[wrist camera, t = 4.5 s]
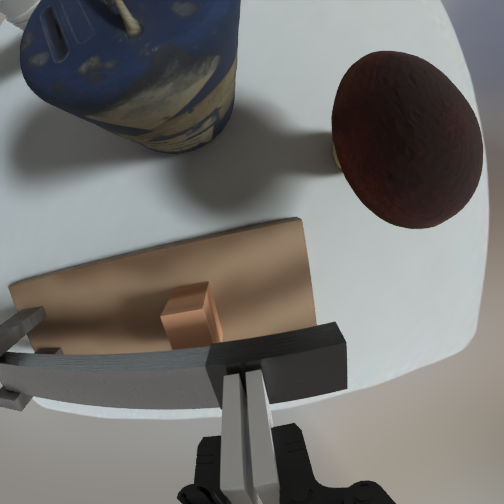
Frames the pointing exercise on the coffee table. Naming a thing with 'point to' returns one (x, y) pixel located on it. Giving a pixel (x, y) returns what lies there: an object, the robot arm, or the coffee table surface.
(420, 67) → the decorative mushroom
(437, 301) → the coffee table surface
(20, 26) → the white ribbed cylinder
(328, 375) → the lever
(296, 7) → the coffee table surface
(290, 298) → the base
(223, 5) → the canister
